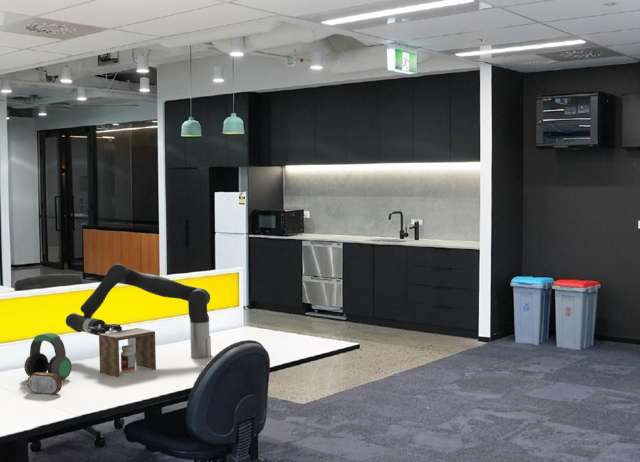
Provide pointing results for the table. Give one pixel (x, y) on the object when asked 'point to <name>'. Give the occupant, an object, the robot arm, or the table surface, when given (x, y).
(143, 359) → the tunnel
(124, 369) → the pill bottle
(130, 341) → the ink box
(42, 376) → the tin
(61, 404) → the table surface
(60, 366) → the headphones
